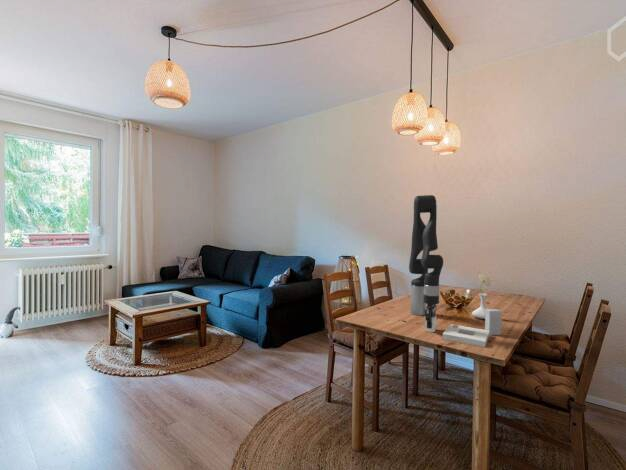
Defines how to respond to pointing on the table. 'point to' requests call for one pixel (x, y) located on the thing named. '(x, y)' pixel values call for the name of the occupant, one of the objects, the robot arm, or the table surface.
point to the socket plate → (466, 335)
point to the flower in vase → (482, 299)
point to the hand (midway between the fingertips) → (430, 326)
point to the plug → (432, 324)
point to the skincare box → (493, 321)
